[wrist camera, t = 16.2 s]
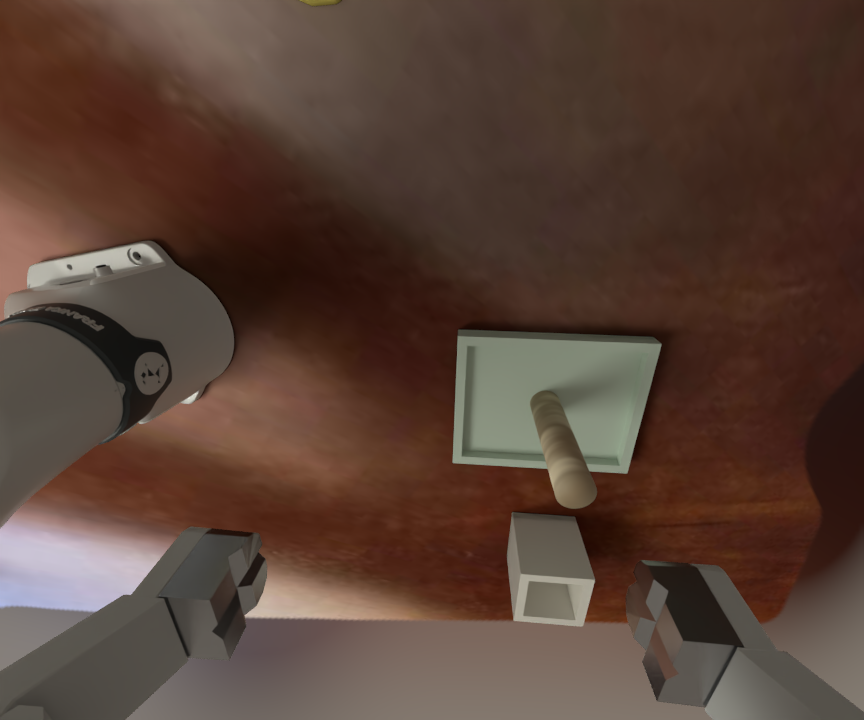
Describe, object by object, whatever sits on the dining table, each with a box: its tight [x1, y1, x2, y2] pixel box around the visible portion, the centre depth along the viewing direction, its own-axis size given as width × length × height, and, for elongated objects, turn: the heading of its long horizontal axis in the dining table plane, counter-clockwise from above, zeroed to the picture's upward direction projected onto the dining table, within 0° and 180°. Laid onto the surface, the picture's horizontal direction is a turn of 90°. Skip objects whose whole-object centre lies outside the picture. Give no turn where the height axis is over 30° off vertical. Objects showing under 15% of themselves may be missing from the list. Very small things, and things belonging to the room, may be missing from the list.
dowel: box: [530, 391, 597, 509], centre depth 38 cm, size 3×3×14 cm
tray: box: [453, 329, 662, 473], centre depth 44 cm, size 20×16×2 cm
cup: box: [507, 512, 595, 627], centre depth 50 cm, size 8×8×9 cm
